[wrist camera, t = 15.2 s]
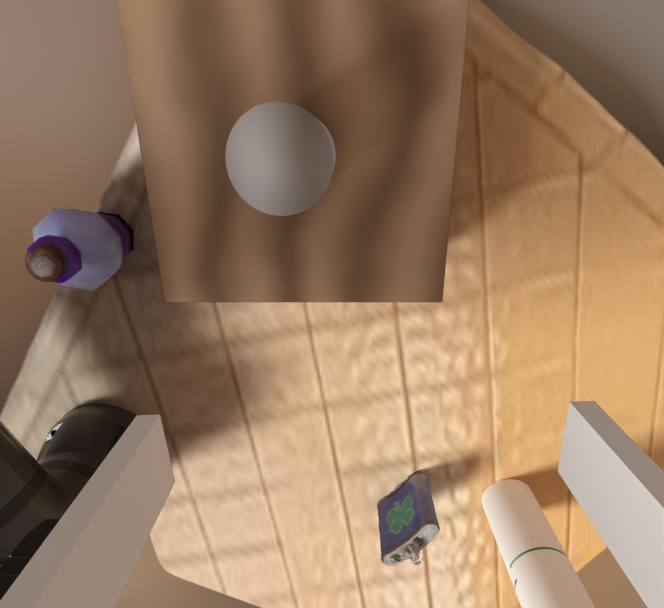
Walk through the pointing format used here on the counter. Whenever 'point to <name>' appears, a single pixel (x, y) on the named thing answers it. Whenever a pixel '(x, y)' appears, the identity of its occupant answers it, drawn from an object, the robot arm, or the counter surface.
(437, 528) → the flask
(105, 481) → the robot arm
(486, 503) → the cylindrical container
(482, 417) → the counter surface
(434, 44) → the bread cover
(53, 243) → the potion bottle
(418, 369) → the counter surface
